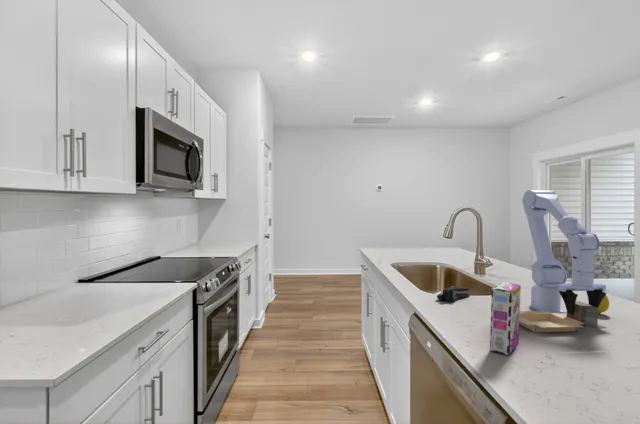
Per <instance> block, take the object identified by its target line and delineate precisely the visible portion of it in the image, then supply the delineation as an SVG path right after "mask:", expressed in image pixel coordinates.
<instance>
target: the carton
mask: <svg viewBox="0 0 640 424" xmlns="http://www.w3.org/2000/svg"><path fill="white" fill-rule="evenodd" d="M579 324H584V323H582V322H579V321H577V320H574V319H572V318H569V317H567V315H564V314H563V313H550V312H547V311H539V310H520V317H519V325H521V326H523V327H525V328H526V329H528V330H530V331H533V332H534V333H558V332H561V333H562V332H577V331H578V330H577V329H578V328H579V327H583V326H581V325H579Z"/></svg>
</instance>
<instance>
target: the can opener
mask: <svg viewBox="0 0 640 424" xmlns="http://www.w3.org/2000/svg"><path fill="white" fill-rule="evenodd" d="M468 291H470V288H469V287H466V286H454V285H453V286H450V287H447V288H444V289H443V290H442V293H439V294H437V295H436V298H437V299H438V300H441V301H447V302H449V303H452V302H455V301H456V300H457V298H461V299H462V298H463V299H464V298H468V297H470V293H468ZM464 292H465V293H464ZM466 292H467V293H466Z"/></svg>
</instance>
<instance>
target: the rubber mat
mask: <svg viewBox="0 0 640 424" xmlns="http://www.w3.org/2000/svg"><path fill="white" fill-rule="evenodd" d="M579 325H580V324H579ZM581 326H582V325H581ZM578 328H579V329H607V327H606V326H604V325H600V324H598V326H597V327H585V326H583V327H578Z"/></svg>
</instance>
